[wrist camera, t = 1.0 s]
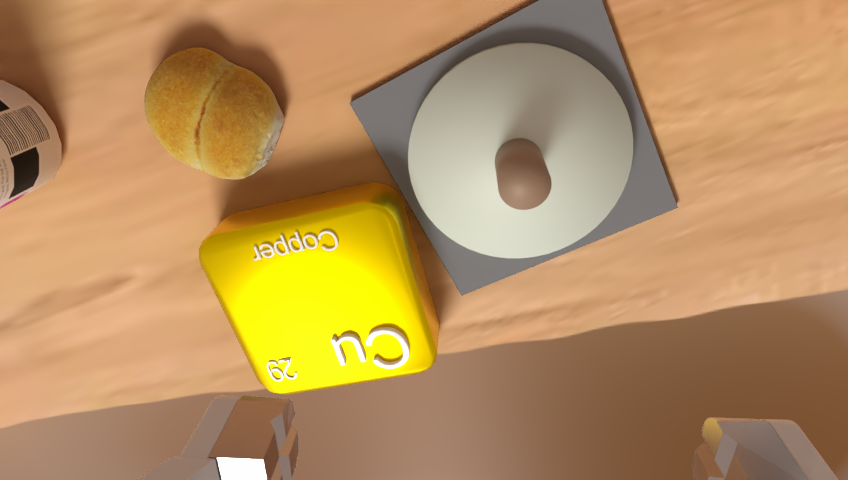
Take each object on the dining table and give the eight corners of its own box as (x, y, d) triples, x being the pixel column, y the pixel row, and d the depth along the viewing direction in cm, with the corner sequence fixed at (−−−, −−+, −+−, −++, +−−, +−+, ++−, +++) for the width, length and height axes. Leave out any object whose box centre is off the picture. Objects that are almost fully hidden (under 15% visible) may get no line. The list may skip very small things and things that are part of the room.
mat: (590, -29, 33) (591, -29, 33) (675, 205, 40) (677, 207, 39) (350, 101, 38) (349, 103, 38) (461, 292, 44) (461, 295, 44)
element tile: (396, 174, 41) (388, 200, 36) (444, 338, 47) (442, 376, 43) (211, 216, 43) (183, 244, 39) (281, 365, 50) (263, 404, 45)
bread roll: (174, 26, 37) (142, 33, 33) (299, 90, 38) (281, 103, 35) (144, 134, 40) (113, 151, 37) (260, 189, 42) (240, 210, 38)
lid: (581, -4, 34) (600, 3, 29) (659, 201, 39) (686, 236, 34) (369, 109, 38) (355, 132, 33) (467, 280, 43) (467, 322, 38)
